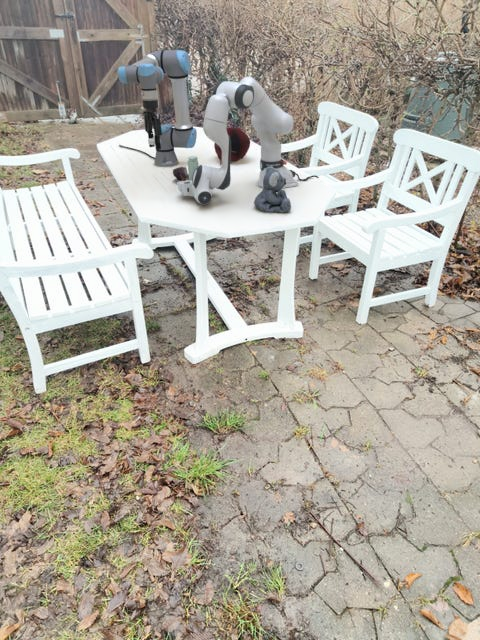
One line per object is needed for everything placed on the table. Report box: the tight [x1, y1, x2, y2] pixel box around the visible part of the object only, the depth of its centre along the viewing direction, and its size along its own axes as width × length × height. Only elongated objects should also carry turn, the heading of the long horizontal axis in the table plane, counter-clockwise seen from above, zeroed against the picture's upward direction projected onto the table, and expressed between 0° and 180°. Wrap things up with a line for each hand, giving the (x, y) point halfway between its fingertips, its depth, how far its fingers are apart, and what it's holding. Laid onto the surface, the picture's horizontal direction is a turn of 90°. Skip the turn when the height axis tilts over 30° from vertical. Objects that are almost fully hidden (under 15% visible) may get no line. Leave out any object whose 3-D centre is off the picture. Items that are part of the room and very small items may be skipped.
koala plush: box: [253, 166, 292, 213], centre depth 221 cm, size 17×18×20 cm
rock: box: [172, 166, 189, 182], centre depth 261 cm, size 12×9×10 cm
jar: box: [187, 155, 199, 180], centre depth 243 cm, size 6×6×18 cm
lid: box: [147, 138, 161, 145], centre depth 234 cm, size 6×6×2 cm
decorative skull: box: [213, 126, 251, 166], centre depth 295 cm, size 21×24×25 cm
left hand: (155, 147), depth 236 cm, fingers closed on lid, 6 cm apart
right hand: (193, 180), depth 245 cm, fingers closed on jar, 5 cm apart
